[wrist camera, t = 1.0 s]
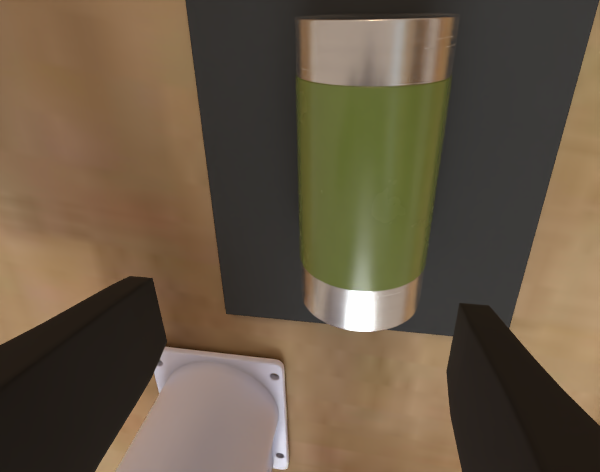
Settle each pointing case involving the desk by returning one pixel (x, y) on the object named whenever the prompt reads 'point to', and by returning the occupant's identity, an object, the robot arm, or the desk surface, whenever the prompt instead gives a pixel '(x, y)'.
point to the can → (369, 159)
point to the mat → (454, 158)
